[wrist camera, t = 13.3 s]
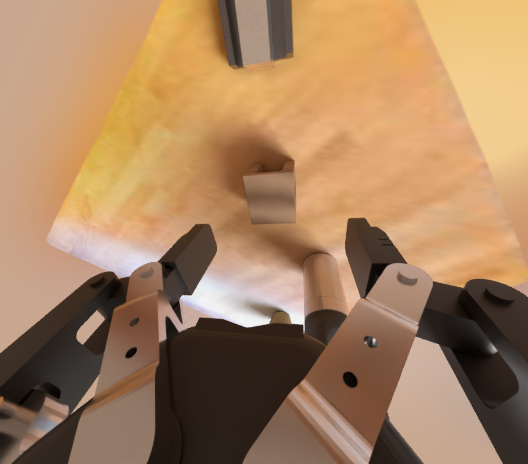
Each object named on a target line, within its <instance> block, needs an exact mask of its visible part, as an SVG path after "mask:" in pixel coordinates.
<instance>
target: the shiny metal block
mask: <svg viewBox="0 0 528 464" xmlns="http://www.w3.org/2000/svg"><path fill="white" fill-rule="evenodd" d="M235 7H236V14H237V22H238V30H239V37H240V45H241V53H242V61H243V66H244V67H245V68H246V69H248V70H249V71H250V72H252V71H258V70H263V69H269V68H274V53H273V37H272V21H271V5H270V0H235Z"/></svg>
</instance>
